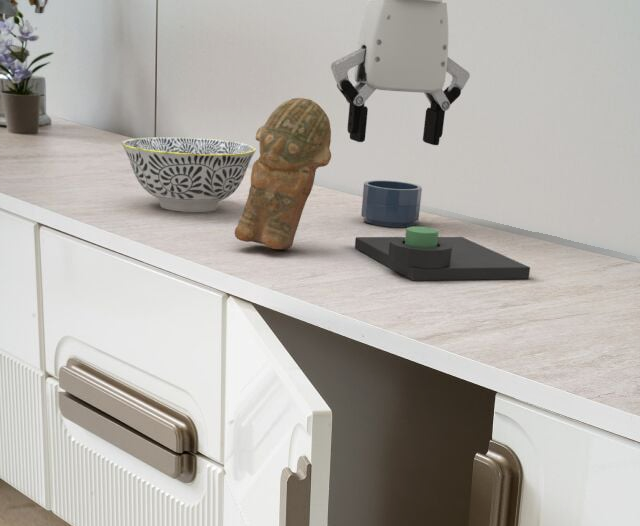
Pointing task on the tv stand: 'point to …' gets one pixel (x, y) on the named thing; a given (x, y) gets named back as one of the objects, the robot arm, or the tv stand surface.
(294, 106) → the figurine
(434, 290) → the tv stand surface
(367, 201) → the small bowl
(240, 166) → the bowl
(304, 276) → the tv stand surface
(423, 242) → the button
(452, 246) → the black flat block
